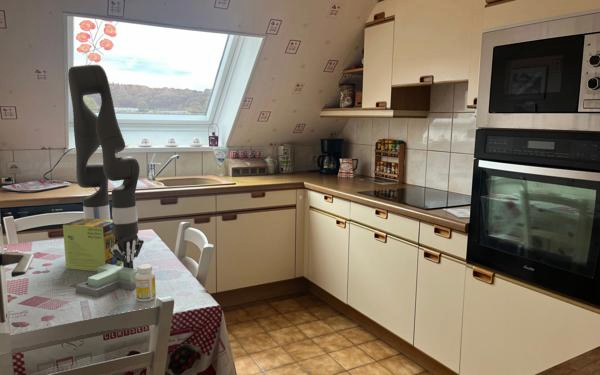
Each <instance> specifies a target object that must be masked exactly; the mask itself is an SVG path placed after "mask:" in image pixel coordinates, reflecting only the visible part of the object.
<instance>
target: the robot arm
mask: <svg viewBox="0 0 600 375" xmlns="http://www.w3.org/2000/svg"><path fill="white" fill-rule="evenodd" d="M67 73H68V74H67V78H68V79H67V80H68V86H69V93H70V99H71V104H72V116H73V135H74V145H75V154H76V155H75V156H76V160H75V162H76V173H75V174H76V180H77V184H78V186H79V187H80V188H82V189H89V188H91V189H92V188H99V189H98V190H97V191H96V192H94V193H92V194H90V195H88V196H85V197H84V198H83V199H82V205H83V206H82V207H83V208H82V209H83V218H87V219H108V220H113V234H114V236H115V245H114V247H113V248H110V249H109V252H110V253H111V254H112V255H113V256H114V257H115V258H116V259H117V261H122V264H123V265H122V267H126V268H131V269H134V260H135V258H138V256H139V254H140V251H141V249H142V247H143V246H144V243H145V242H144V240H142V239H141V238H139V235H138V234H139V220H138V210H137V202H136V201H137V200H136V191H137V185H138V180H139V177H140V171H141V170H140V164H139V161H138V160H137V159H136V158H135V157H133V156H120V157H116V154H118V153H121V152H122V151H124V150H125V149H126V143H125V139H124V136H123V134H122V131H121V128H120V126H119V122H118V119H117V114H116V110H115V106H114V101H113V96H112V92H111V91H112V90H111V88H110V82H109V79H108V76H107V72H106V71H105V69H104V67H103V66H102V65H101V64H95V63H94V64H86V65H83V64H82V65H74V66H71V67H70V68H69V69H68V72H67ZM97 94H99V95H100V100H101V101H100V102H101V104H100V108H99V111H98V115H97V114H96V113H95V112H94V111H93V110H92V109H91V108H90V107H89V106H88V104H87V103H86V102H85V100H84V96H88V95H89V96H90V95H97ZM100 147H101V151H102V162H88V161H89V160H90V159H91V157H92V156H93V154H94V153H95V152H96V151H97V150H98V148H100ZM109 180H110V181H112V182H115V181H116V182H117V181H122V184H121V185H120V186H119V185H118V186H117V187H114V188H112V191H111V203H112V204H111V205H112V208H111V209H110V198H109V197H110V196H109ZM110 210H111V212H110Z"/></svg>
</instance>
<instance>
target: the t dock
mask: <svg viewBox="0 0 600 375" xmlns="http://www.w3.org/2000/svg"><path fill="white" fill-rule="evenodd" d="M96 274H97V273H93V272H88V273H86V274H85V275H86V280H85V281H82V282H79V283H78V284H75V291H76V293H80V294H84V295H88V296H89V295H90V296H93V297H96V298H97V297H99V296H103V295H105V294H107V293H110V292H112V291H114V290H116V289H124V290H127V291H132V290H136V285H134V282H130V281H126V280H121V279H117V280H115V281H113V282H110V283H108V284H105V285H103V286H100V287H98V288H97V287H93V286H88V277H91V276H94V275H96Z"/></svg>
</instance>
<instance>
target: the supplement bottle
mask: <svg viewBox="0 0 600 375" xmlns="http://www.w3.org/2000/svg"><path fill="white" fill-rule="evenodd" d="M136 270H137V271H138V273H137V274H136V276H135V280H136V285H135V295H136V300H137V301H139V302H142V303H143V302H144V303H145V302H149V301H152V300H154V299H155V298H156V294H157V293H156V292H157V291H156V274H155V272H153V266H152V264H148V263H145V264H140V265H138V266H137V269H136Z"/></svg>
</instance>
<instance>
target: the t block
mask: <svg viewBox="0 0 600 375" xmlns="http://www.w3.org/2000/svg"><path fill="white" fill-rule="evenodd" d="M97 268H98V271H97V273H95V274H96V275H94V276H91V277H88V280H87V281H88V286H93V287H97V288H98V287H100V286H103V285H105V284H108V283H110V282H113V281H115V280H117V279H121V280H126V281H130V282H134V285H135V286H136V280H135V276H136V274H137V273H138V271H137V269H136V268H133V269H131V268H126V267H123V266H119V265H117V266H116V265H111V264H106V265H103V266H100V267H97Z"/></svg>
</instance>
